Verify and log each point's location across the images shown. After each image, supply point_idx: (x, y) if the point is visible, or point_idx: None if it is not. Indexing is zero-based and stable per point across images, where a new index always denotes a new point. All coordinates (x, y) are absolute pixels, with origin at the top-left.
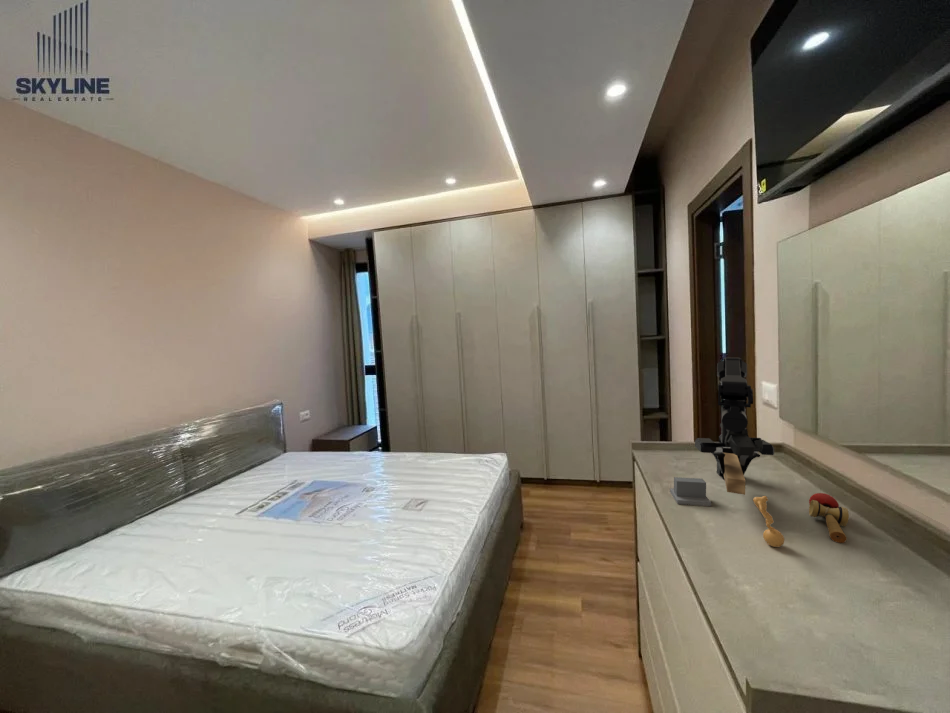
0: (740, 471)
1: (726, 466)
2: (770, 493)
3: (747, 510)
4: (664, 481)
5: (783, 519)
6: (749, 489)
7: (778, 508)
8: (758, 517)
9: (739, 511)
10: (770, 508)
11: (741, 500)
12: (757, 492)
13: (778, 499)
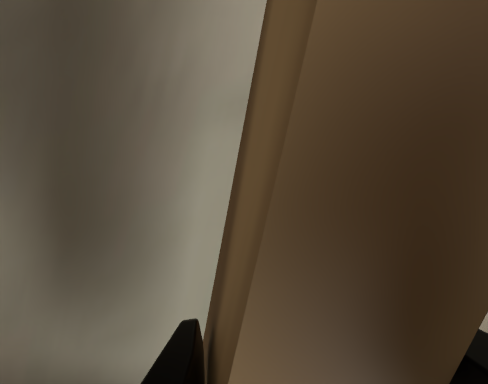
0: (315, 171)
1: (444, 350)
2: (34, 348)
3: (197, 109)
4: (482, 329)
5: (17, 34)
6: (126, 361)
7: (23, 184)
8: (159, 24)
9: (245, 83)
10: (66, 172)
11: (196, 229)
12: (95, 341)
13: (6, 294)
